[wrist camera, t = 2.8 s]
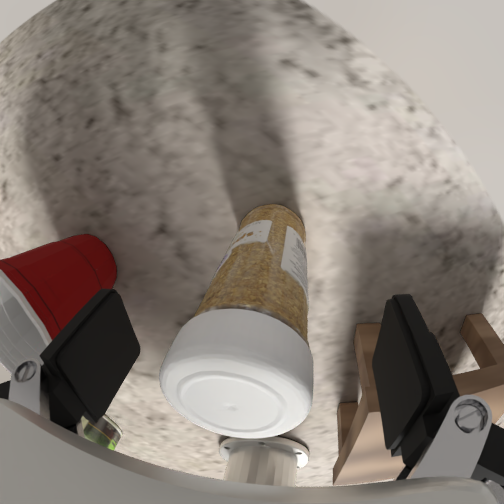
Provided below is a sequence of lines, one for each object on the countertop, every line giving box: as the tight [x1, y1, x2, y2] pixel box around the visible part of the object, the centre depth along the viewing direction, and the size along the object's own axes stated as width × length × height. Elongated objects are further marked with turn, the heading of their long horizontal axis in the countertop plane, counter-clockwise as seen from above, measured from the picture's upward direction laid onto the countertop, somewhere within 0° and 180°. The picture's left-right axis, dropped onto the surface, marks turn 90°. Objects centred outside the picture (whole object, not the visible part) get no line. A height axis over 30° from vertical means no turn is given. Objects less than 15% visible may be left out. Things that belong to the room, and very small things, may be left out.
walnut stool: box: [333, 313, 504, 485], centre depth 18 cm, size 14×14×9 cm
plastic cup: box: [0, 234, 117, 375], centre depth 17 cm, size 11×11×12 cm
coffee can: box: [81, 415, 122, 450], centre depth 32 cm, size 10×10×14 cm
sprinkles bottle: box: [159, 204, 313, 438], centre depth 13 cm, size 5×5×14 cm
